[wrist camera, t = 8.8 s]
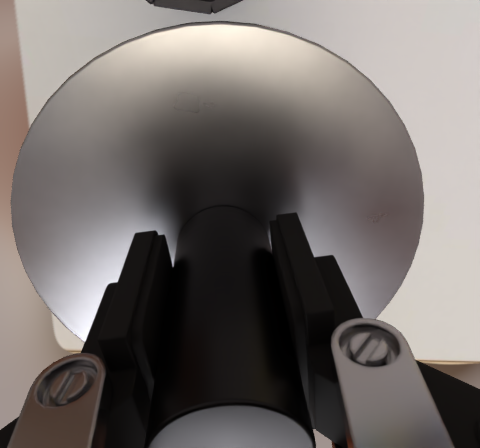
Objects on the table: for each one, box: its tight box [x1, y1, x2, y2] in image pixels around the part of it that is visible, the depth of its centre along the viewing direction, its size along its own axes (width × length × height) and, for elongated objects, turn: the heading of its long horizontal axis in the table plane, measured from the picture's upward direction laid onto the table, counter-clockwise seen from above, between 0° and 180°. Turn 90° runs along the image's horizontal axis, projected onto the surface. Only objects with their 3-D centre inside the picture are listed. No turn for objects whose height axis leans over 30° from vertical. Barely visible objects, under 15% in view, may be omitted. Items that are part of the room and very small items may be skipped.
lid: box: [11, 21, 424, 448], centre depth 10 cm, size 12×12×8 cm
